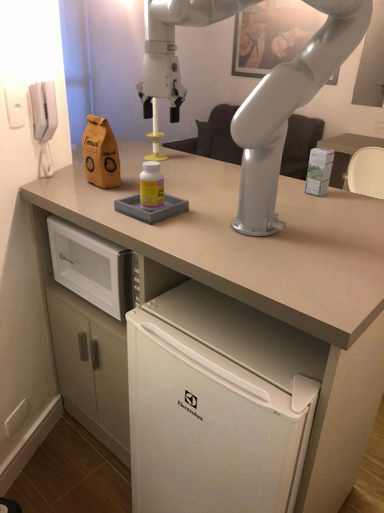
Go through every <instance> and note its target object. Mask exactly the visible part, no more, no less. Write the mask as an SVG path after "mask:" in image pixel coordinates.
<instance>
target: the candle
mask: <svg viewBox="0 0 384 513" xmlns="http://www.w3.org/2000/svg"><path fill="white" fill-rule="evenodd" d="M152 103H153V118H152V132H146V133H145V136H146V137H150V138H152V154H148V155H145V156H144V157H143V158H144V160H146V161H156V162H163V161H166V160H168V159H169V157H168V156H167V155H164V154H160V138H163V137H166V136H167V133H164V132H159V98H155V97H153V99H152Z"/></svg>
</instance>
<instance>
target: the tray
mask: <svg viewBox="0 0 384 513" xmlns="http://www.w3.org/2000/svg"><path fill="white" fill-rule="evenodd" d="M113 207H114V212H117V213H119V214H121V215H125V216H127V217H129V218H132V219H135V220H137V221H140V222H142V223H145V224H147V225H149V226H151V225H155V224H158V223H160V222H162V221H166V220H168V219H171V218H173V217H176V216H180V215H181V214H184V213H187V212H189V209H190V202H189V200H187V199H184V198H180V197H177V196H175V195H172V194H169V193H168V194H167V193H165V192H164V207H163V208H162V209H159V210H156V211H147V210H144V209H142V208H141V201H140V193H139V192H138V193H135V194H132V195H128V196H125V197H123V198H122V197H121V198H119V199H115V200H113Z"/></svg>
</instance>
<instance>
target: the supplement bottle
mask: <svg viewBox="0 0 384 513" xmlns="http://www.w3.org/2000/svg"><path fill="white" fill-rule="evenodd" d="M142 168H143V171H142V172H140V174H139V190H140V191H139V192H140V201H141V208H142V209H144V210H147V211H156V210H159V209H162V208H163V207H164V193H165V181H164V178H165V175H164V173H163V172H162V171H161V170H160V169H161V163H160V161H149V160H146V161H144V162H143V163H142Z"/></svg>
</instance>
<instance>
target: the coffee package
mask: <svg viewBox="0 0 384 513" xmlns="http://www.w3.org/2000/svg"><path fill="white" fill-rule="evenodd" d="M86 120H87V121H88V123H87V125H86V127H85V130H84V132H83V134H82V135H83V136H82V138H81V143H82V144H81V146H82V156H83V168H84V173H85V176H84V177H85V181H87V182H89V183H92V184H93V185H94V186H97V187H99V188H101V189H103V190H106V189H113V188H117V187H121V186H122V181H121V180H122V179H121V178H122V177H121V160H120V154H119V148H118V144H117V140H116V137H115V135H114V132H113V130H112V128H111V125H110V123H109V121H108V119H107V118H104V117H102V116H97V115H93V114H88V115H87V116H86Z"/></svg>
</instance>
